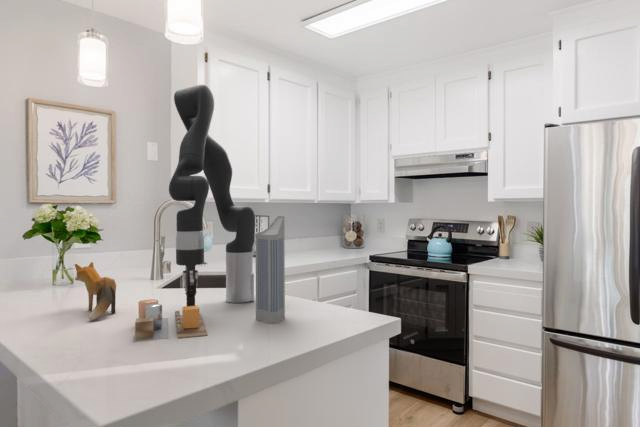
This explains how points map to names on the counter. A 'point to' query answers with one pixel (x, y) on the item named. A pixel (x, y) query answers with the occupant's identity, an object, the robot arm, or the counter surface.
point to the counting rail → (189, 331)
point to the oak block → (144, 328)
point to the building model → (270, 273)
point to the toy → (97, 290)
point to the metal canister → (155, 314)
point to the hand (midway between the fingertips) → (190, 308)
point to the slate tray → (157, 332)
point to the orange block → (190, 316)
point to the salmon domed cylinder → (143, 306)
